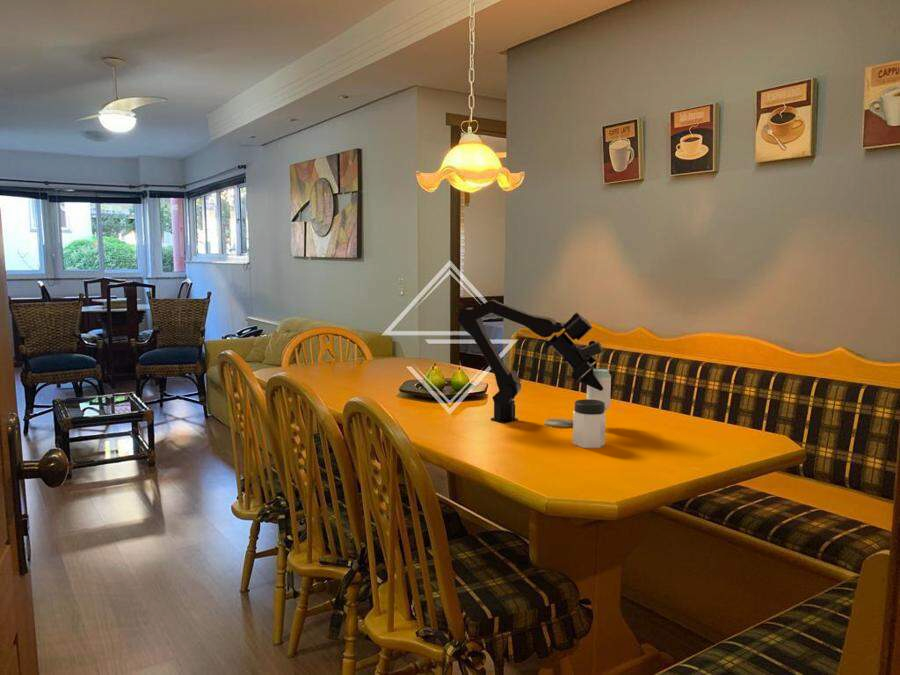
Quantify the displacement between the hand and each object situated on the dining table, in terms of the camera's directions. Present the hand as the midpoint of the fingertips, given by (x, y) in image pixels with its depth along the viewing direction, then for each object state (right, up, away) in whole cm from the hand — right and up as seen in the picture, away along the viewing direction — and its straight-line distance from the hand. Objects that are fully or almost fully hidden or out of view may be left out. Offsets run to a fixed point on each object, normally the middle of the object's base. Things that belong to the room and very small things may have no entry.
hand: (603, 387), depth 207 cm
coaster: (-12, -12, +5) cm, 18 cm away
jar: (-8, -15, -18) cm, 25 cm away
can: (-1, -7, +1) cm, 7 cm away
